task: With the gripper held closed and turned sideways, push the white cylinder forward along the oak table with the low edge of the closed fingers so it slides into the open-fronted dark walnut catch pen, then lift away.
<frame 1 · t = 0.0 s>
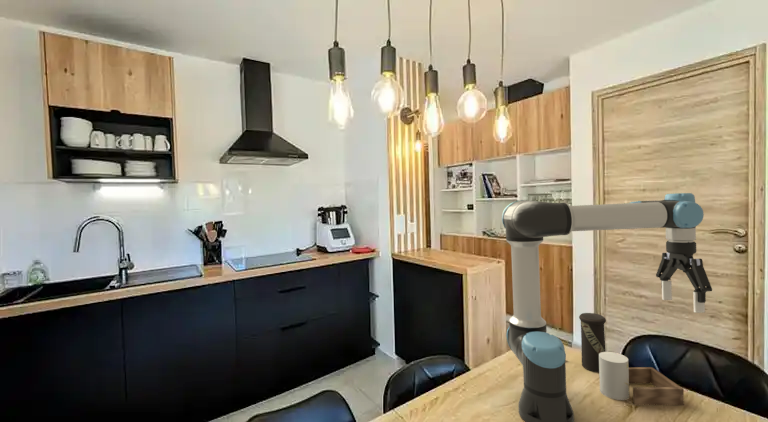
hand: (682, 305, 115), 28 cm above the table, fingers open, 13 cm apart
catch pen: (644, 392, 116), on the table
scraper: (548, 363, 139), on the table
white cylinder: (614, 393, 116), on the table
container: (593, 367, 134), on the table
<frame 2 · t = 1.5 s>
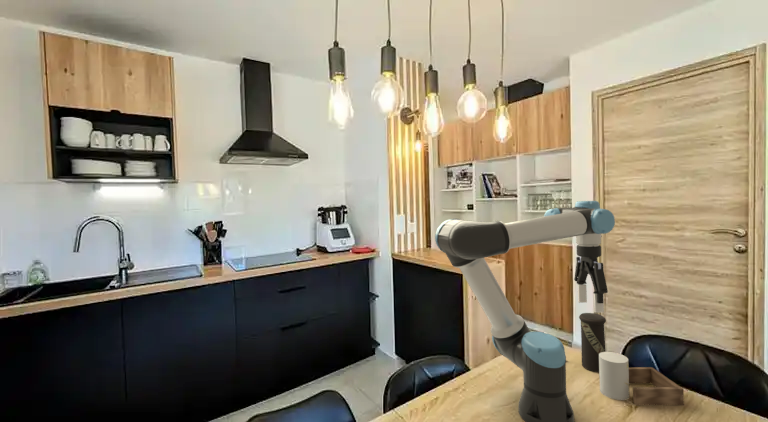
hand: (590, 307, 124), 26 cm above the table, fingers open, 11 cm apart
nothing on the table moved.
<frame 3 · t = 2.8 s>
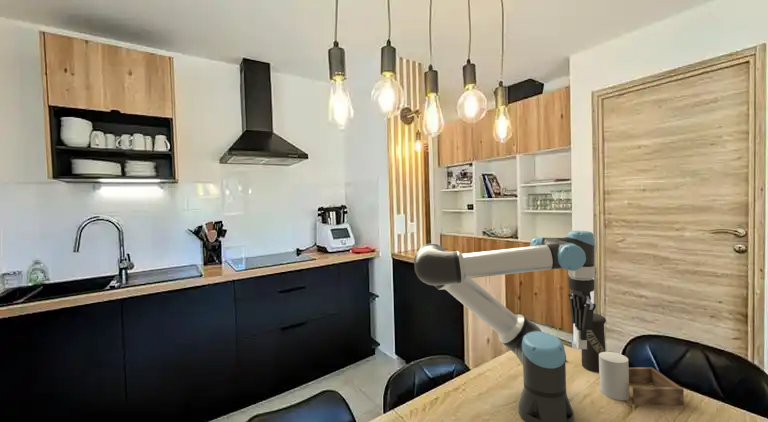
hand: (581, 348, 117), 15 cm above the table, fingers closed
nothing on the table moved.
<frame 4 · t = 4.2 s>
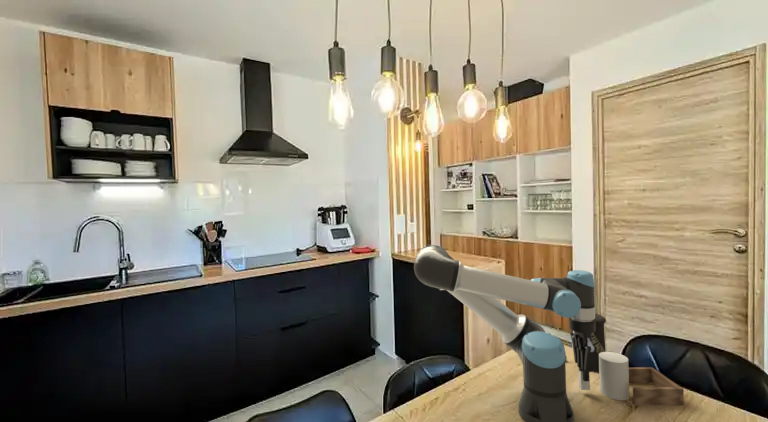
hand: (584, 388, 117), 2 cm above the table, fingers closed
nothing on the table moved.
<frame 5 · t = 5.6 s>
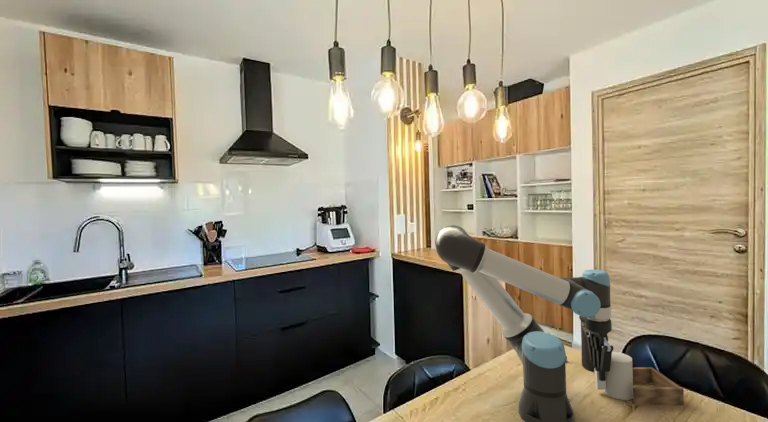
hand: (600, 388, 116), 2 cm above the table, fingers closed
white cylinder: (618, 393, 116), on the table, touching gripper
everything else where it was.
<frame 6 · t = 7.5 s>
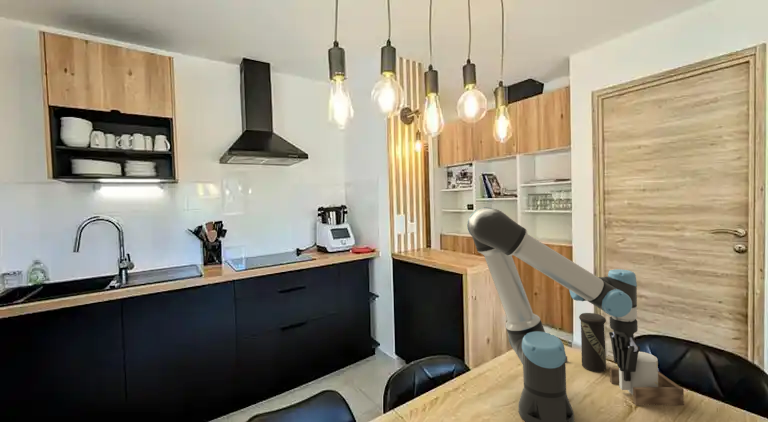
hand: (625, 388, 116), 1 cm above the table, fingers closed
white cylinder: (642, 393, 116), resting in catch pen, touching gripper
everything else where it was.
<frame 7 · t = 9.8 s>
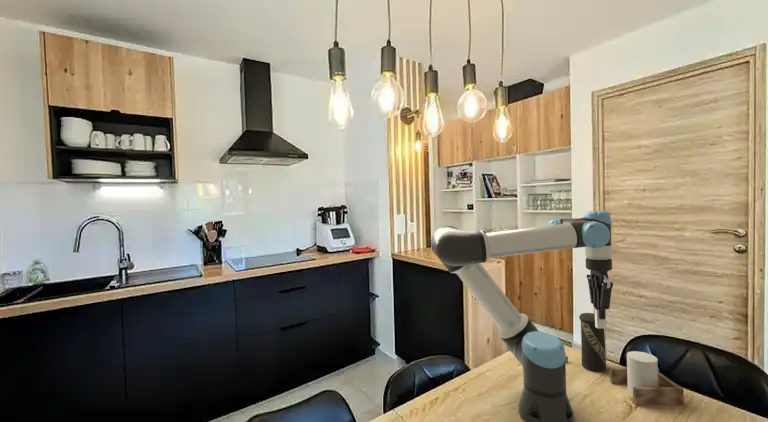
hand: (600, 327, 118), 21 cm above the table, fingers closed
white cylinder: (642, 393, 116), resting in catch pen
everything else where it was.
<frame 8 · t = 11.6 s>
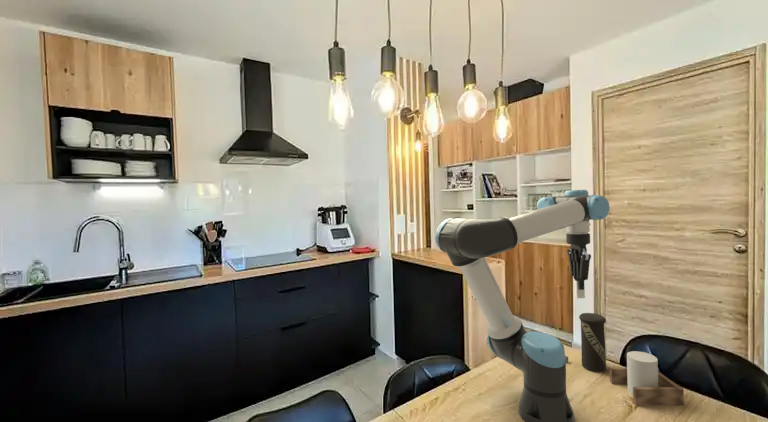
hand: (579, 297, 128), 28 cm above the table, fingers closed
nothing on the table moved.
at the end: white cylinder inside the target area on the catch pen (0.3 cm from its centre), point 0.0 cm above the catch pen's base; white cylinder moved 9.0 cm from its start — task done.
